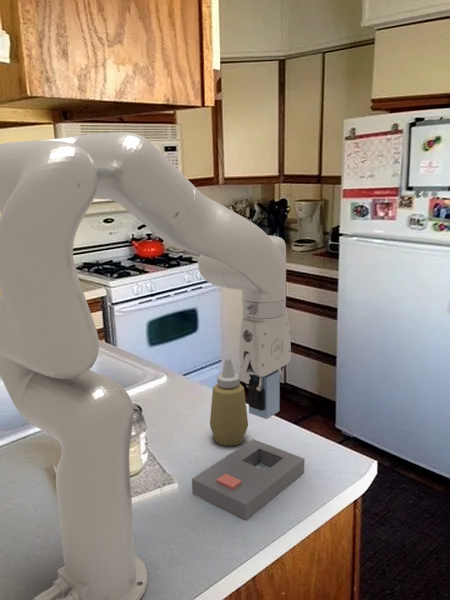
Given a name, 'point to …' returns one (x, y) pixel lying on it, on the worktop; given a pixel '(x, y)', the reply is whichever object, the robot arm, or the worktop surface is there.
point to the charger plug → (269, 395)
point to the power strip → (248, 478)
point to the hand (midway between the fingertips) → (264, 402)
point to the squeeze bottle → (228, 408)
